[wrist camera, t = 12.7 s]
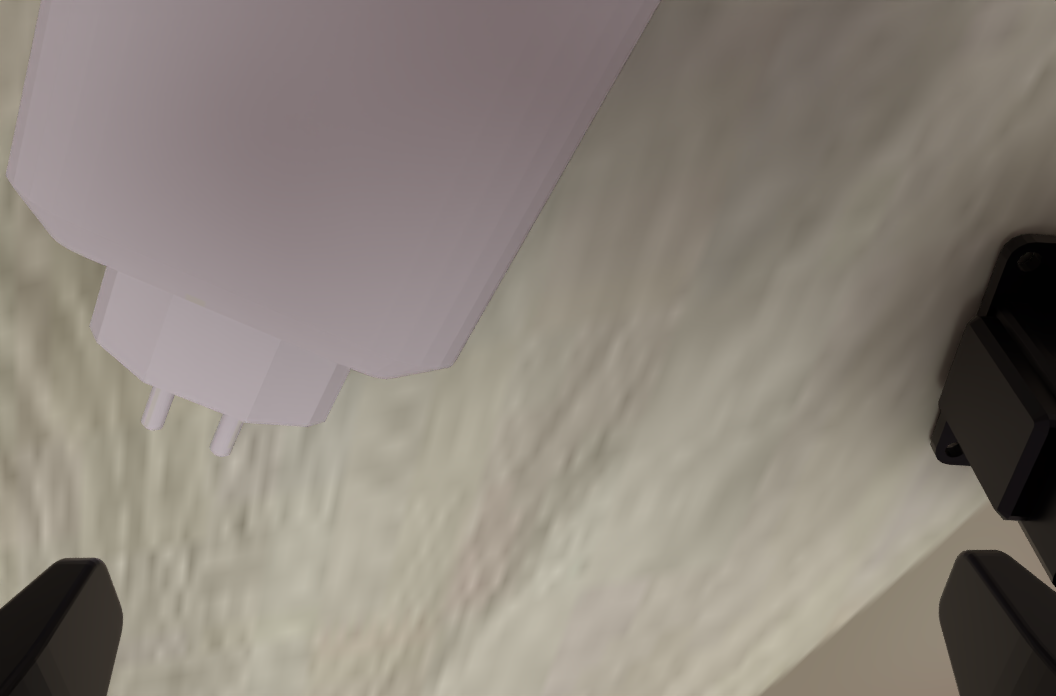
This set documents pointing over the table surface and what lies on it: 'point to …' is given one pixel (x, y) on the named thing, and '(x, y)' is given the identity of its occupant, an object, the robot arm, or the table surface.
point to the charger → (302, 178)
